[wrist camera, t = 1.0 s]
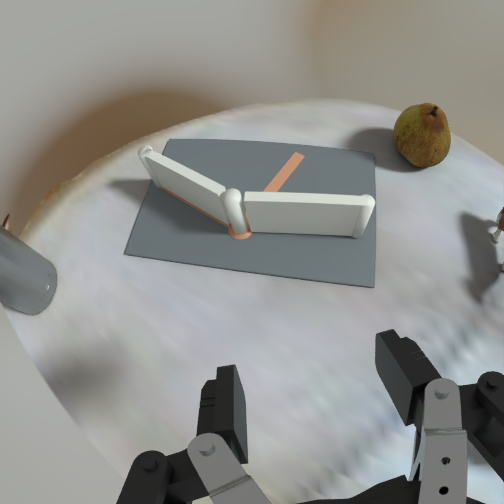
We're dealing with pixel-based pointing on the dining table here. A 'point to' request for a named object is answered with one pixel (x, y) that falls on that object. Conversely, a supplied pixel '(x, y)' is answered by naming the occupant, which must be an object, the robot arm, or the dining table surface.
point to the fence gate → (308, 213)
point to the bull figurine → (499, 229)
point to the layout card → (251, 243)
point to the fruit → (422, 135)
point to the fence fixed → (196, 189)
